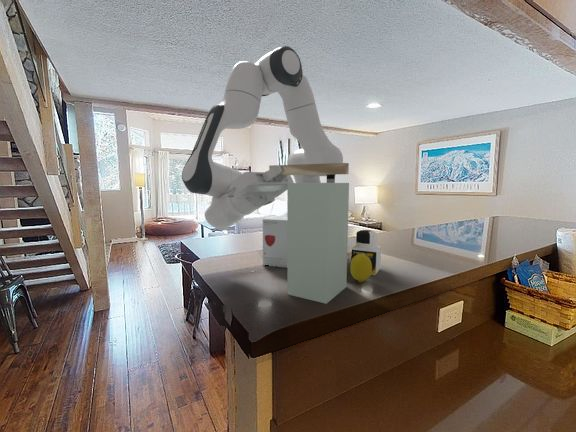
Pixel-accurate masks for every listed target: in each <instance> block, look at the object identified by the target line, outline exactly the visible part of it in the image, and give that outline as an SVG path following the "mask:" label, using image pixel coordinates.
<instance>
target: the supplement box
mask: <svg viewBox="0 0 576 432" xmlns="http://www.w3.org/2000/svg"><path fill="white" fill-rule="evenodd" d="M265 265H269V266H268V267H276V266H277V268H285V269H286V268H287V216H285V215H284V216H283V215H282V216H281V215H270V216H268V217H264V218H262V266H265Z"/></svg>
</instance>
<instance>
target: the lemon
mask: <svg viewBox="0 0 576 432" xmlns="http://www.w3.org/2000/svg"><path fill="white" fill-rule="evenodd" d="M349 268H350V269H349V271H350V274H351V276H352V277H353V279H355V280H356V281H358V282H359V283H363V282H364V281H367V280H368V279H369V278H370V277H371V276H372V275H371V272H372V263H371V260H370V259H369V257H368V256H366V255H364V254H363V253H360V254H357V255H355V256H354V257H353V258H352V261H351V262H350V265H349Z"/></svg>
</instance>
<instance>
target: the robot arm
mask: <svg viewBox="0 0 576 432" xmlns="http://www.w3.org/2000/svg"><path fill="white" fill-rule="evenodd" d="M229 74H230V75H229V77H228V80H227V82H226V86H225V90H224V94H223V96H222V97H223V98H222V100H221V101H220V103H217V104H215V105H213V106H212V107H211V109H210V110H209V112H208V113H207V115H206V117H205V119H204V122H203V124H202V127H201V129H200V132H199V134H198V137H197V139H196V141H195V144H194V147H193V149H192V152H191V153H190V156H189V157H188V159H187V161H186V162H185V164H184V166H183V168H182V172H181V180H182V183H183V185H184V186H185V188H186V189H187V190H188V191H189V193H192V194H198V195H207V196H210V197H211V198H212V199H211V202H210V205H209V206H208V208H206V210H205V212H204V218H205V220H206V222H207V223H208V224H209V225H210V226H211V227H212V228H215V229H217V230H225V229H228V228H230V227H232V226H234V225H235V224H237V223H238V222H240V221H242V219H244V217H245V216H248V215H250V214H252V213H253V212H255V211H256V210H259V209H260V208H262V207H264V206H267V205H270V204H272V203H274V202H275V200H276V198H278V197H280V196H281V195H282V194H284V193H285V192H286V191H287V183H322V182H321V178H320V177H327V175H280V174H282V173H283V172H284V169H283V166H279V165H280V164H277V165H278V166H276V167H275V168H274V169H271V170H269V169H268V170H266V171H265V172H264V171H245V172H243V173H242V172H241V171H239V170H237V169H236V168H233V167H230V166H227V165H223V164H222V163H219V162H216V161H213V160H214V159H213V158H212V157H213V154H214V150H215V148H216V146H217V143H218V140H219V139H220V135H221V133H222V132H223V130H224V131H225V130H226V129H229V130H230V129H231V130H237V129H238V130H239V129H245V128H248V127H250V126H252V125H253V124H254V123H255V122H256V120H257V118H258V116H259V113H260V107H261V103H262V102H261V101H262V97H268V96H269V95H272V94H275V93H277V94H278V95H279V96H280V98H281V99H282V104H283V108H284V113H285V118H286V121H287V125H288V128H289V129H288V130H289V133H290V134H291V136H292V137H293V138H295V140H297V141H298V143H299V144H300V146H301V148H298V149H295V150H294V151H293V152H291V153H290V154H289V155H288V157H287V161H286V162H287V164H286V165H299V164H328V163H344V157H343V153H342V150H341V149H340V148H339V147H337V146H336V145H334V144H333V143H332V142H331V140H330V139H329V138H328V136H327V134H326V133H325V131H324V129H323V126H322V124H321V121H320V120H321V119H320V115H319V113H318V109H317V104H316V100H315V95H314V93H313V90H312V87H311V84H310V82H309V80H308V78H307V77H306V76H305V75H304V74H303V66H302V62H301V59H300V57H299V55H298V52H297V51H295V49H294V48H292V47H290V46H288V45H284V46H279V47H275V48H274V49H273V50H272V51H269V52H268V53H266V54H265V55H263V56H261V58H260V59H258V60H257V61H256V62H255V63H253V62H250V61H247V60H246V61H245V60H242V61H238V62H237V63H236V64H235V65H234V66H233V68H232V69H231V72H230V73H229ZM292 176H293V178H292ZM293 179H294V180H293Z"/></svg>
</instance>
